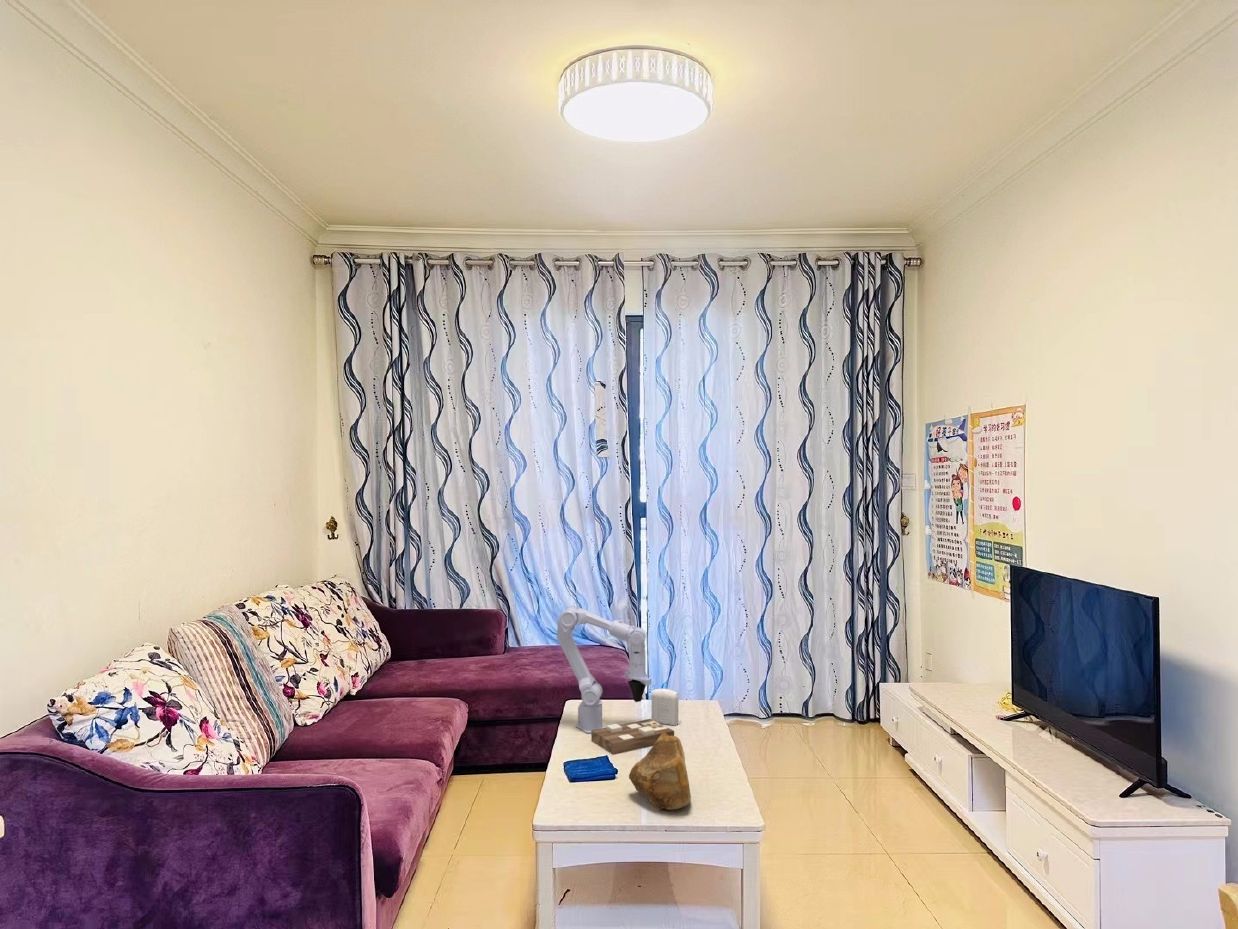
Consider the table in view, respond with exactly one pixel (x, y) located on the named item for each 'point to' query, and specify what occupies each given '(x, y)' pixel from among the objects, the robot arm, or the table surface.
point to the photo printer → (665, 706)
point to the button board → (639, 741)
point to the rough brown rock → (663, 774)
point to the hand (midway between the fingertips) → (637, 701)
